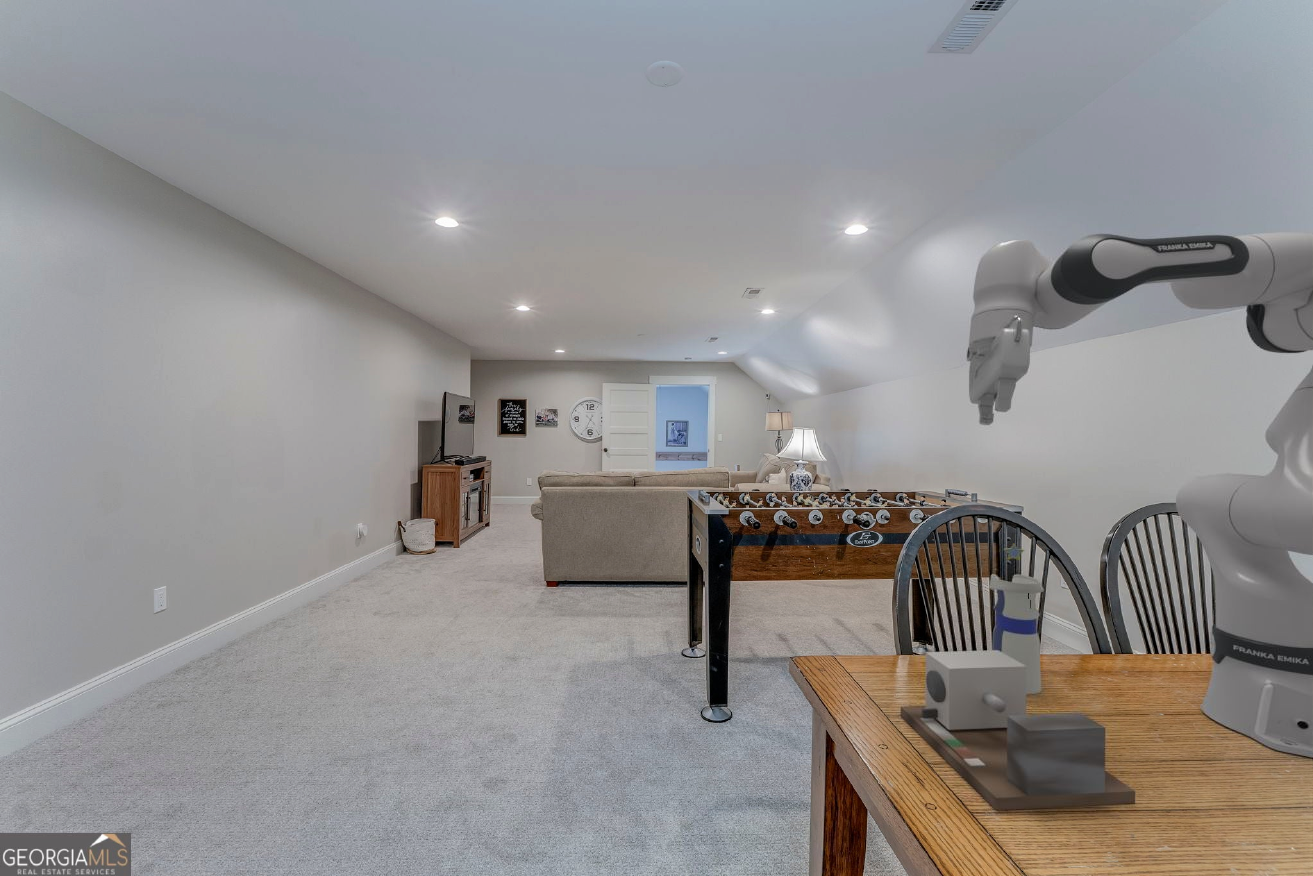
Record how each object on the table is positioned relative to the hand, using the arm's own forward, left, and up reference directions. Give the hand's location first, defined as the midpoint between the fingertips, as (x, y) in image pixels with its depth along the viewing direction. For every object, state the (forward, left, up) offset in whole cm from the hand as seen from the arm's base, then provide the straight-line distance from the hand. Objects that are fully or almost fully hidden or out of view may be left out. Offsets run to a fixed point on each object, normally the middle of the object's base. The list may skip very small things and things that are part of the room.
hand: (993, 417), depth 87 cm
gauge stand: (-3, +12, -48) cm, 50 cm away
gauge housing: (+1, +9, -46) cm, 47 cm away
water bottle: (-1, -15, -48) cm, 51 cm away
